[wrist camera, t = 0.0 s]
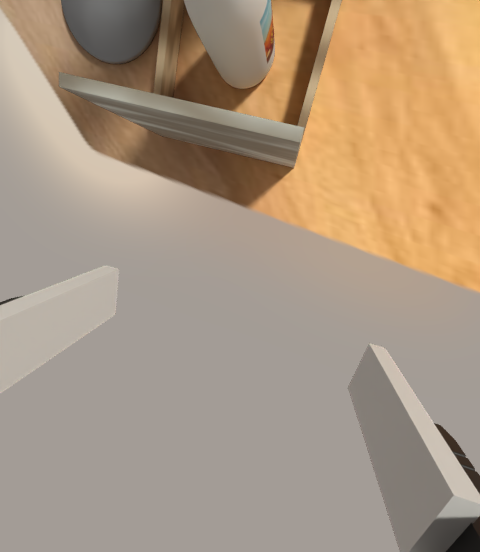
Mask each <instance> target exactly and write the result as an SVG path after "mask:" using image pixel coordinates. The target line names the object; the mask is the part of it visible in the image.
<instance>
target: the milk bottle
mask: <svg viewBox="0 0 480 552" xmlns="http://www.w3.org/2000/svg"><path fill="white" fill-rule="evenodd" d="M184 3H185V6H186V9H187V12H188V15H189V17H190V19H191V21H192V23H193V26H194V28H195V30H196V32H197V34H198V36H199V37H200V39H201V41H202V43H203V45H204V47H205V49H206V50H207V52H208V54H209V56H210V58H211V60H212V61H213V63H214V65H215V67H216V69H217V70H218V72H219V74H220V75H221V77H222V78H223V79H224V81H225V82H226V83H228V84H229V85H231V86H232V87H235V88H239V89H246V88H250V87H253V86H255V85H257V84H258V83H260V82H261V81H262V80H263V79H264V78H265V77H266V75H267V74H268V72H269V70H270V68H271V66H272V63H273V60H274V54H275V41H274V28H273V16H272V5H271V0H184Z"/></svg>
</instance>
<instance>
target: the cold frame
mask: <svg viewBox="0 0 480 552" xmlns="http://www.w3.org/2000/svg"><path fill="white" fill-rule="evenodd" d="M341 1H342V0H332V2H331V5H330V9H329V13H328V16H327V20H326V23H325V27H324V31H323V34H322V38H321V42H320V45H319V49H318V53H317V56H316V60H315V63H314V67H313V71H312V74H311V78H310V82H309V85H308V89H307V93H306V96H305V100H304V103H303V107H302V111H301V114H300V118H299V122H298V125H297V126H295V125H291V124H286V123H282V122H278V121H273V120H269V119H264V118H260V117H255V116H251V115H247V114H242V113H238V112H233V111H229V110H225V109H220V108H216V107H211V106H207V105H202V104H198V103H194V102H189V101H185V100H180V99H176V98H173V93H174V85H175V77H176V69H177V61H178V53H179V46H180V38H181V30H182V22H183V14H184V6H185V3H184V0H163V6H162V15H161V25H160V34H159V44H158V53H157V63H156V72H155V82H154V92H153V93H149V92H145V91H141V90H136V89H132V88H127V87H123V86H118V85H114V84H110V83H105V82H101V81H96V80H92V79H87V78H83V77H79V76H74V75H70V74H65V73H61V72H59V87H61V88H63V89H65V90H67V91H69V92H71V93H73V94H75V95H77V96H80V97H82V98H84V99H86V100H88V101H90V102H92V103H94V104H96V105H98V106H100V107H102V108H104V109H107V110H109V111H111V112H113V113H115V114H117V115H119V116H121V117H123V118H125V119H127V120H129V121H131V122H134V123H136V124H138V125H140V126H142V127H144V128H146V129H148V130H150V131H152V132H154V133H156V134H158V135H160V136H164V137H168V138H172V139H176V140H180V141H184V142H188V143H193V144H197V145H201V146H205V147H209V148H213V149H217V150H222V151H226V152H230V153H234V154H238V155H242V156H246V157H250V158H255V159H259V160H263V161H267V162H271V163H275V164H279V165H284V166H288V167H292V168H294V166H295V163H296V159H297V156H298V152H299V149H300V145H301V142H302V138H303V135H304V131H305V128H306V124H307V121H308V117H309V114H310V110H311V107H312V103H313V100H314V96H315V93H316V89H317V86H318V82H319V79H320V75H321V72H322V68H323V65H324V61H325V58H326V54H327V51H328V47H329V43H330V40H331V36H332V33H333V29H334V26H335V22H336V19H337V15H338V12H339V8H340V5H341Z"/></svg>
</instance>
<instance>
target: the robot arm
mask: <svg viewBox="0 0 480 552" xmlns="http://www.w3.org/2000/svg"><path fill="white" fill-rule="evenodd" d="M118 276H119V269H117V268H114V267H111V266H107V265H105V266H102V267H100V268H97V269H95V270H92V271H89V272H87V273H84V274H81V275H79V276H76V277H73V278H71V279H68V280H65V281H63V282H60V283H58V284H55V285H52V286H50V287H47V288H44V289H42V290H39V291H36V292H34V293H31V294H29V295H26V296H21V297H16V298H11V299H9V300H6V301H3V302H0V393H2V392H3V391H5V390H6V389H8V388H9V387H11V386H12V385H13V384H15V383H16V382H18V381H19V380H21V379H22V378H24V377H25V376H27V375H28V374H29V373H31V372H32V371H34V370H35V369H37V368H38V367H40V366H41V365H43V364H44V363H45V362H47V361H48V360H50V359H51V358H53V357H54V356H55V355H57V354H58V353H60V352H61V351H63V350H64V349H66V348H67V347H69V346H70V345H72V344H73V343H74V342H76V341H77V340H79V339H80V338H82V337H83V336H85V335H86V334H88V333H89V332H91V331H92V330H93V329H95V328H96V327H98V326H99V325H101V324H102V323H104V322H105V321H107V320H108V319H109V318H111V317H112V316H114V315H115V314H116V313H115V312H116V302H117V289H118ZM348 390H349V393H350V396H351V399H352V402H353V405H354V408H355V412H356V415H357V418H358V421H359V424H360V427H361V430H362V434H363V437H364V440H365V443H366V446H367V449H368V453H369V455H370V459H371V462H372V465H373V468H374V471H375V474H376V478H377V481H378V484H379V487H380V490H381V493H382V497H383V500H384V503H385V506H386V509H387V512H388V516H389V518H390V522H391V525H392V528H393V531H394V534H395V537H396V541H397V544H398V547H399V550H400V552H480V475H479V474H478V473H477V472H475V468H474V467H473V465H472V464H471V462H470V461H469V460H468V458H466V457H465V456H466V455H465V454H464V452H463V451H462V450H461V448H460V446H459V445H458V444H457V442H456V441H455V440H454V438H453V437H452V436H450V434H449V433H448V432H447V431H446V430H445V429H444V428H443V427H441V426H440V425H438V424H435V423H433V421H432V420H431V418H430V417H429V415H428V414H427V412H426V410H425V409H424V407H423V406H422V404H421V403H420V401H419V400H418V398H417V397H416V395H415V393H414V392H413V390H412V389H411V387H410V386H409V384H408V383H407V381H406V380H405V378H404V376H403V375H402V374H401V372H400V371H399V369H398V367H397V366H396V364H395V362H394V361H393V360H392V358H391V356H390V355H389V353H388V352H387V350H386V349H385V348H383V347H380V346H376V345H373V344H370V343H369V345H368V347H367V349H366V351H365V353H364V355H363V357H362V359H361V361H360V363H359V366H358V368H357V370H356V372H355V374H354V376H353V378H352V380H351V382H350V384H349V386H348Z"/></svg>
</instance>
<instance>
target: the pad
mask: <svg viewBox="0 0 480 552" xmlns="http://www.w3.org/2000/svg"><path fill="white" fill-rule="evenodd" d="M61 3H62V8H63V12H64V16H65V19H66V22H67V24H68V26H69V28H70V30H71V32H72V34H73V36H74V37H75V39H76V40H77V41H78V43H79V44H80V45H81V46H82V47H83V48H84V49H85V50H86V51H87V52H89V53H90V54H91V55H93V56H94V57H96V58H97V59H99V60H101V61H103V62H106V63H110V64H123V63H127V62H130V61H132V60H134V59H136V58H137V57H139V56H140V55H141V54H142V53H143V52H144V51H145V50H146V49H147V48H148V46H149V45H150V43H151V42H152V40H153V38H154V36H155V34H156V32H157V29H158V26H159V22H160V18H161V12H162V0H61Z"/></svg>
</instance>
